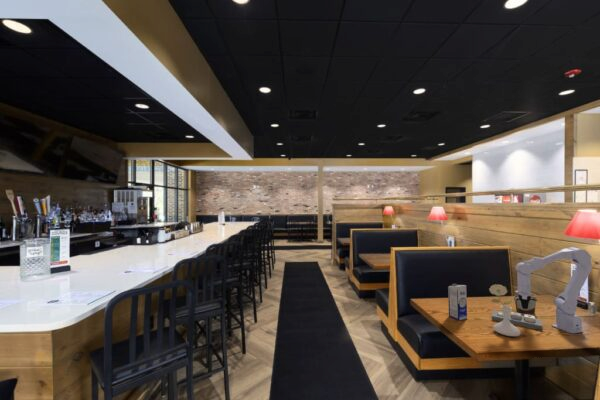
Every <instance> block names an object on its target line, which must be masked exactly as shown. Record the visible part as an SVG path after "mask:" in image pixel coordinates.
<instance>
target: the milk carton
mask: <svg viewBox="0 0 600 400" xmlns="http://www.w3.org/2000/svg"><path fill="white" fill-rule="evenodd" d="M447 290H448V293H447V295H448V317H449V318H451V319H454V320H456V321H458V322H459V321H463V320H468V306H467V305H468V303H467V302H468V301H467V284H457V283H451V285H449V286H447Z"/></svg>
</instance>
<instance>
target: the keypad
mask: <svg viewBox="0 0 600 400" xmlns="http://www.w3.org/2000/svg"><path fill="white" fill-rule="evenodd" d="M498 312H501V313H503V311H500V310H494V309H493V310H492V314H491V320H492V321H495V322H499V323H500V322H502V321H503V319H504V316H498ZM509 321H510V323H511V324H513V325H514V326H520V327H525V328H528V329H529V328H530V329H535V330H540V331H543V322H542V318H537V317H535V323H534V322H529V321H525V318H524V315H523V314H521V320H519V319H514V318H511V312H509Z"/></svg>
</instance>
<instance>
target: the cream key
mask: <svg viewBox="0 0 600 400" xmlns="http://www.w3.org/2000/svg"><path fill="white" fill-rule="evenodd" d="M523 316H524V318H525V321H529V322H534V323H535V318H536V316H535V315H533V314H523Z"/></svg>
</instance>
